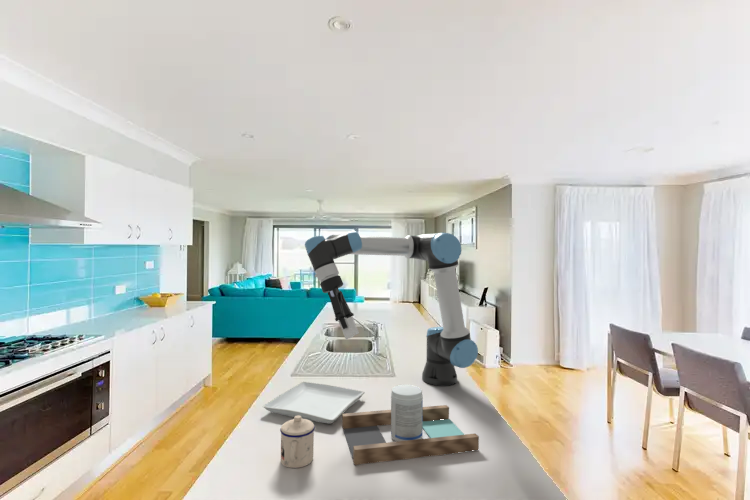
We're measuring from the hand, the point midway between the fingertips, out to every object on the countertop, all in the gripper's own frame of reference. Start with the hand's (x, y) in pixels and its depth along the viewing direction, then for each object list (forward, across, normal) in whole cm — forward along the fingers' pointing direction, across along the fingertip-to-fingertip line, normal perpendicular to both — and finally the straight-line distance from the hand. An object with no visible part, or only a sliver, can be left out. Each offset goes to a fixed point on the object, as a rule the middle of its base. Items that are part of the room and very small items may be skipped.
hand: (353, 336), depth 130 cm
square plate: (+18, -11, -24) cm, 32 cm away
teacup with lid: (+24, +24, -23) cm, 41 cm away
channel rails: (+34, +8, +5) cm, 35 cm away
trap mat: (+29, +11, -6) cm, 32 cm away
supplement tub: (+34, +8, +4) cm, 35 cm away
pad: (+38, +4, +16) cm, 42 cm away
